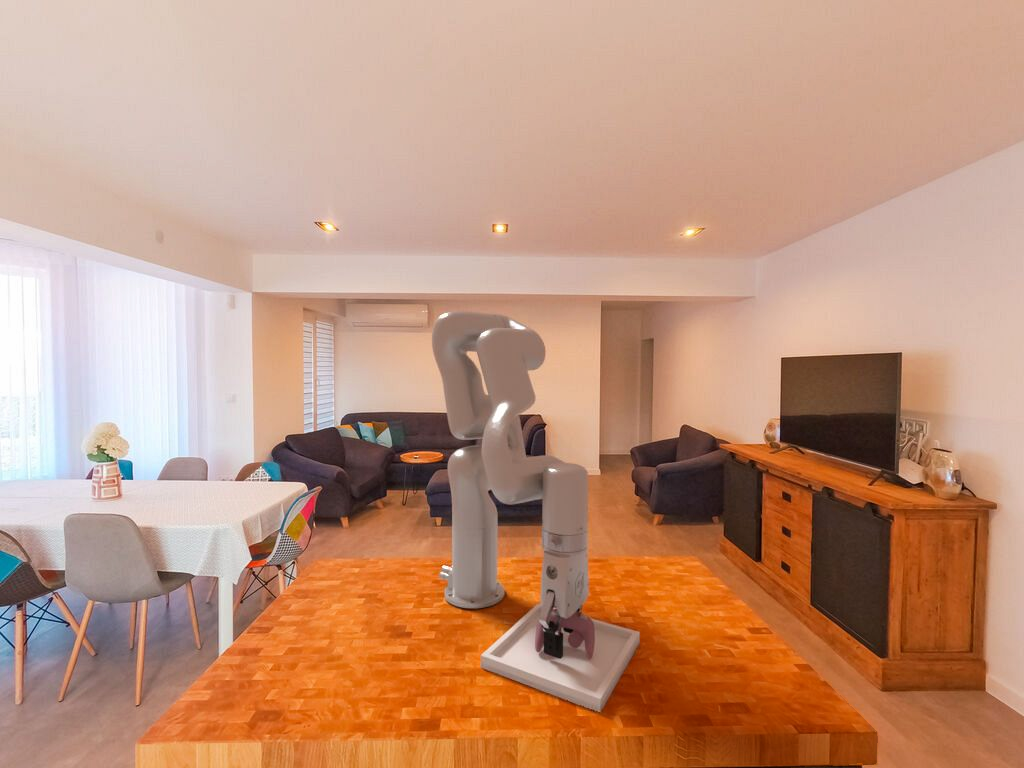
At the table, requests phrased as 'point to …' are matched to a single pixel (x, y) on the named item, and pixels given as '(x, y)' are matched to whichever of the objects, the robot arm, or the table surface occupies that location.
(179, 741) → the table surface
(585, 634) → the video game controller
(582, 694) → the tray
